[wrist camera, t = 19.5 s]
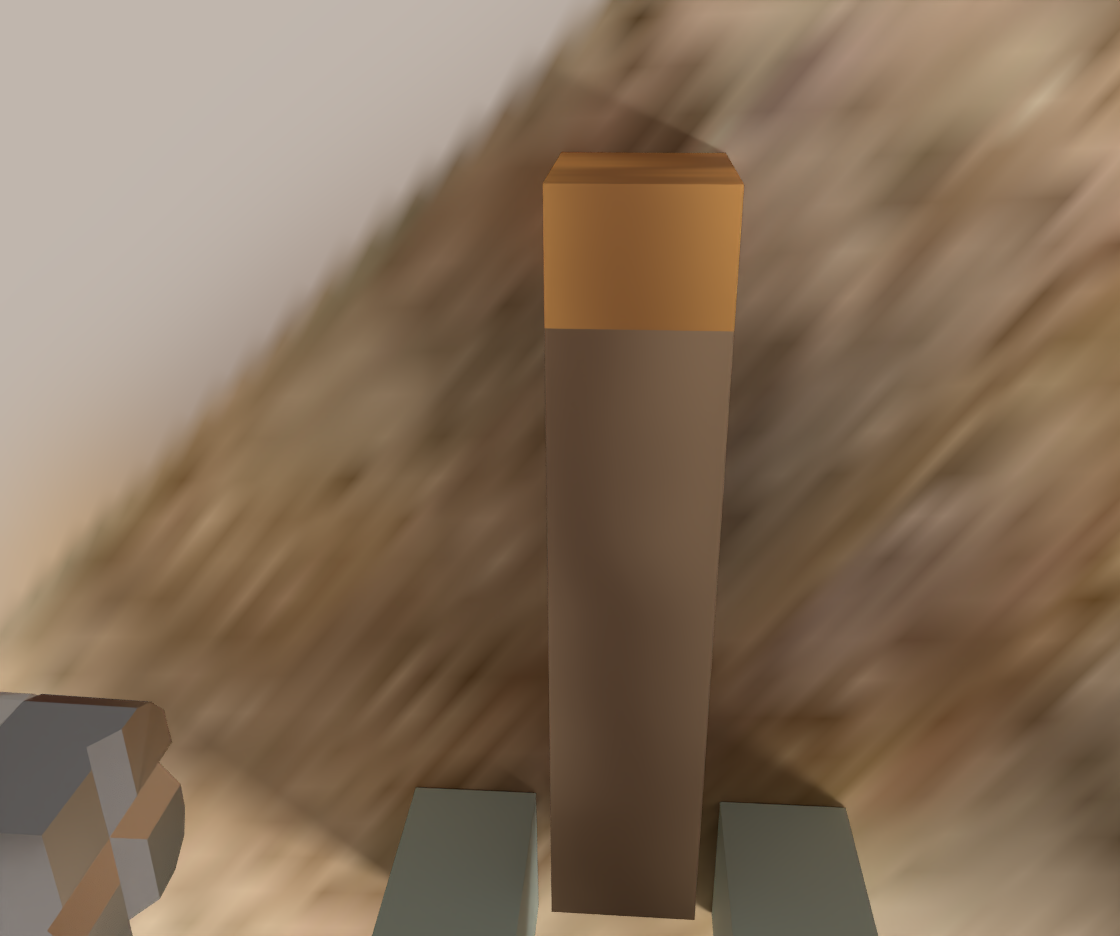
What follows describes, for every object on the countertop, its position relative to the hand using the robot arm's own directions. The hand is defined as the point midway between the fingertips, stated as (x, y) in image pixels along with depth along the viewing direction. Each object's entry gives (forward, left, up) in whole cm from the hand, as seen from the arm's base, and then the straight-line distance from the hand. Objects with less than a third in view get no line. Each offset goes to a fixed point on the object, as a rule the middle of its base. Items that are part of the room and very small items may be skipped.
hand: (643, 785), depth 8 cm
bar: (0, +7, -19) cm, 20 cm away
